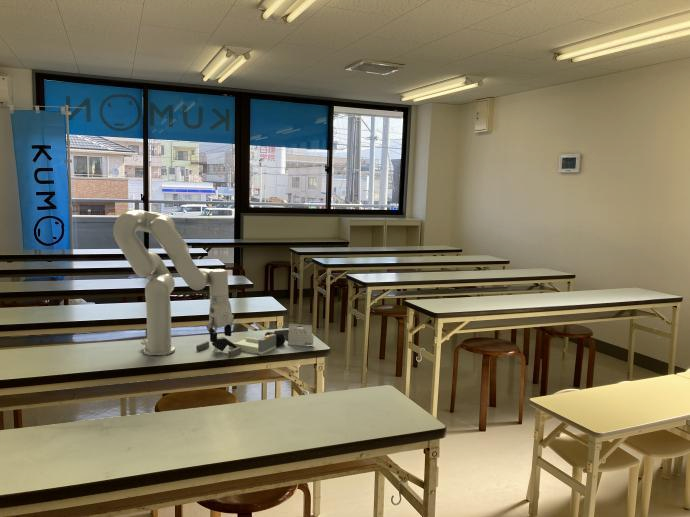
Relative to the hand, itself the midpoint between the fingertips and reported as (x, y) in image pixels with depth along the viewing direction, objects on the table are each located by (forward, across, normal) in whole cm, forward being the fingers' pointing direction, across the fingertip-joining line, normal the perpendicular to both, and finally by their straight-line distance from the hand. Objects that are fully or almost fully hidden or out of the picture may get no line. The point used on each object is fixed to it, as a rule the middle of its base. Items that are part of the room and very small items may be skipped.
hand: (221, 338), depth 241 cm
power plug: (+6, +1, -2) cm, 6 cm away
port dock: (+6, +11, -8) cm, 15 cm away
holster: (+6, -1, +1) cm, 6 cm away
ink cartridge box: (+7, +25, -24) cm, 36 cm away
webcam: (+7, +20, -13) cm, 25 cm away
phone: (+7, +36, -11) cm, 38 cm away
